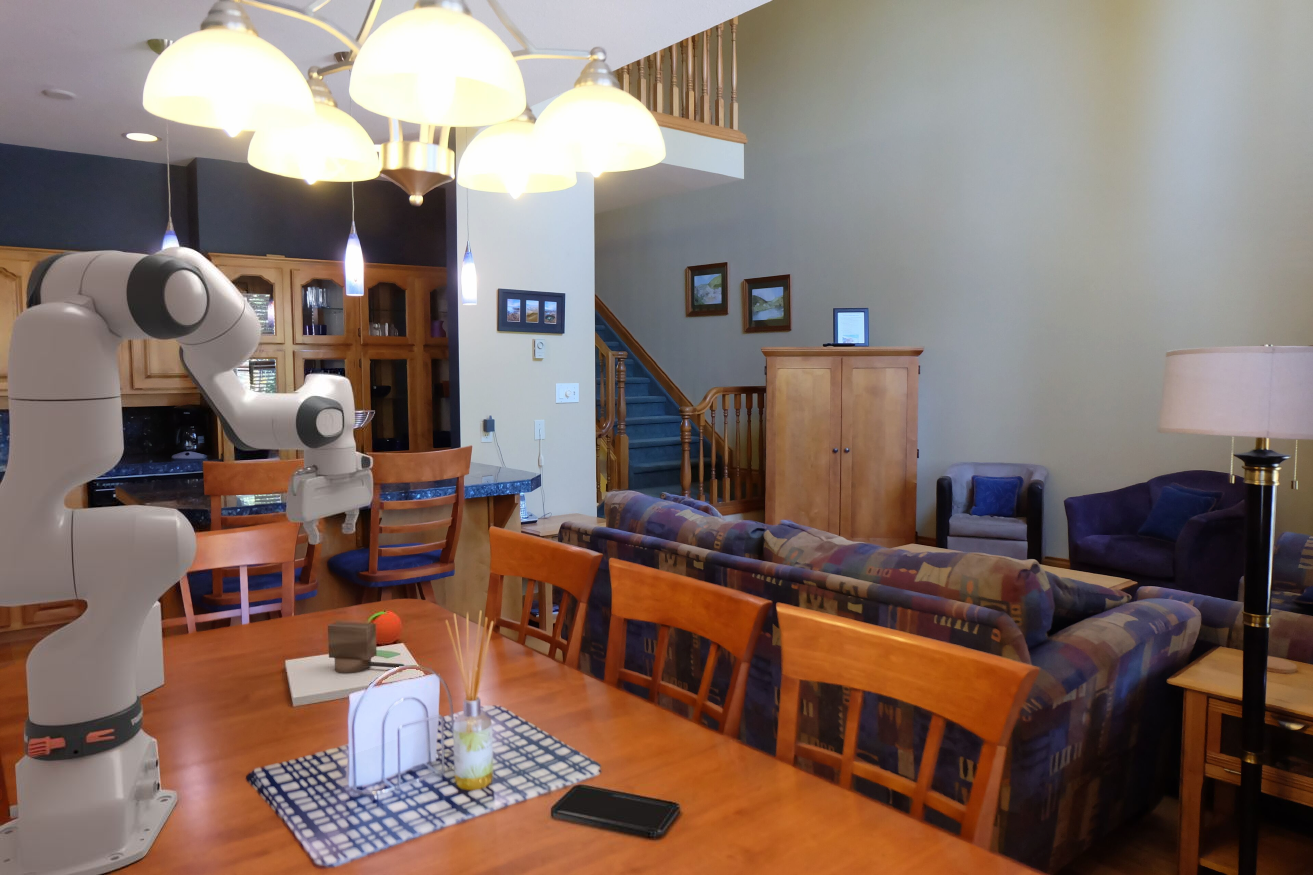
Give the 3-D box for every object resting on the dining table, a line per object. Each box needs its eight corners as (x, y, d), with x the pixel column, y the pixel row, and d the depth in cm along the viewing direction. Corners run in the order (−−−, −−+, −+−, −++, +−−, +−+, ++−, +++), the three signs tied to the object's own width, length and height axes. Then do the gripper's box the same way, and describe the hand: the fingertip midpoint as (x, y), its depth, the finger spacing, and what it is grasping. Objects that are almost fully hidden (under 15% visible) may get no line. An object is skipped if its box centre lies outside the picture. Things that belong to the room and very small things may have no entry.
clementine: (375, 652, 169) (374, 618, 168) (356, 646, 173) (355, 612, 172) (409, 643, 175) (408, 609, 174) (390, 637, 179) (389, 604, 179)
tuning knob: (393, 676, 150) (392, 632, 149) (323, 671, 153) (322, 628, 152) (411, 664, 156) (410, 622, 155) (344, 659, 159) (342, 618, 158)
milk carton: (164, 684, 152) (159, 581, 151) (136, 699, 145) (131, 591, 143) (128, 683, 152) (123, 581, 151) (98, 698, 145) (93, 590, 144)
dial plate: (425, 683, 150) (425, 674, 150) (293, 706, 140) (292, 696, 140) (403, 650, 170) (403, 642, 170) (285, 667, 160) (285, 659, 160)
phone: (659, 834, 98) (547, 810, 103) (659, 843, 98) (547, 819, 103) (682, 803, 105) (577, 782, 111) (682, 811, 105) (577, 790, 111)
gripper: (306, 470, 140) (309, 551, 141) (378, 457, 159) (380, 528, 161) (275, 469, 141) (277, 549, 143) (349, 456, 161) (351, 526, 162)
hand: (332, 538), depth 152 cm, fingers open, 8 cm apart
